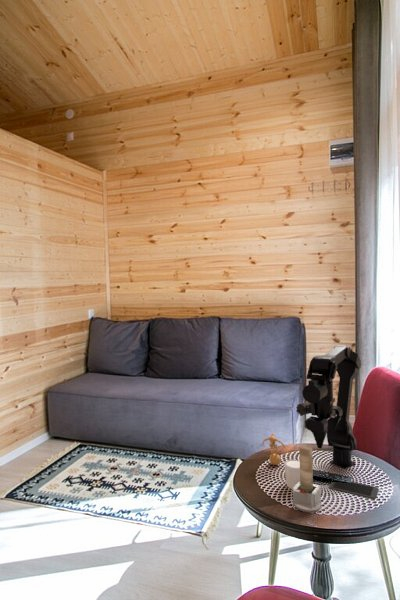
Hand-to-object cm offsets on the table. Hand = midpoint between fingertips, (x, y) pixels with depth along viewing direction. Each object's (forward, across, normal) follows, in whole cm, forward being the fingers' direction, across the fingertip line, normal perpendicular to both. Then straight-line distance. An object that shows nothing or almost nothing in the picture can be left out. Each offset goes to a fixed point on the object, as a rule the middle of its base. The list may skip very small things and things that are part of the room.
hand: (324, 443), depth 132 cm
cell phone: (+14, -1, +8) cm, 16 cm away
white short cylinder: (+13, +7, -8) cm, 17 cm away
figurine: (+13, -2, -19) cm, 23 cm away
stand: (+13, +16, 0) cm, 20 cm away
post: (+8, +16, 0) cm, 18 cm away
